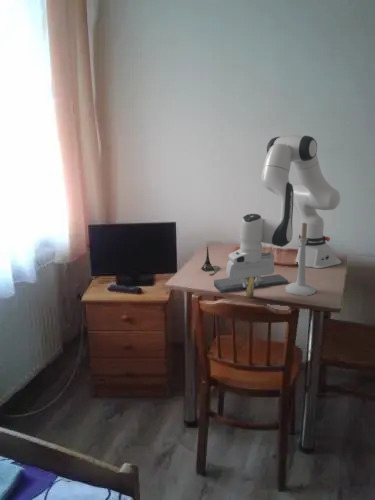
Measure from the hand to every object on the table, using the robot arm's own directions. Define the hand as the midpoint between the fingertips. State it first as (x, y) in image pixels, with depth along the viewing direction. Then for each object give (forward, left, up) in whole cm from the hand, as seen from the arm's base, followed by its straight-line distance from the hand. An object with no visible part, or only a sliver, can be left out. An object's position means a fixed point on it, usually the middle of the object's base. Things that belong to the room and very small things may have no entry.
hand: (250, 286), depth 185 cm
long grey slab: (-6, -12, -5) cm, 14 cm away
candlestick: (-23, +1, -5) cm, 24 cm away
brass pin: (0, 0, -5) cm, 5 cm away
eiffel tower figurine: (+5, -37, -5) cm, 37 cm away
